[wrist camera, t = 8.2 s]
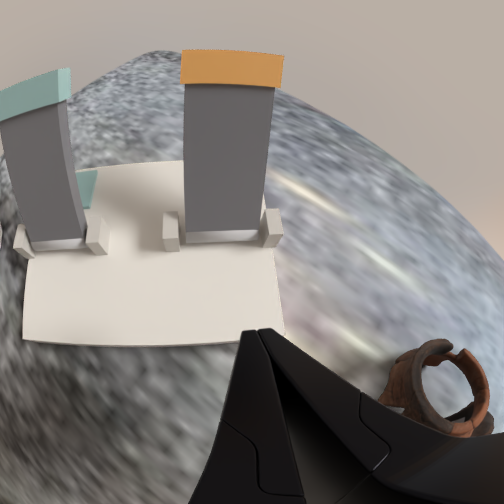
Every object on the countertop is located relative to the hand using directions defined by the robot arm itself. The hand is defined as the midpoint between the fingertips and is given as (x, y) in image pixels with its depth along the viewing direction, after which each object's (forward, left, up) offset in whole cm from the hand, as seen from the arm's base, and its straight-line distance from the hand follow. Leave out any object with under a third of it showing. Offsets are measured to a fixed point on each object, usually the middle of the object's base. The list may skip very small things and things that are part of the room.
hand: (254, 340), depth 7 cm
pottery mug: (+1, -15, -9) cm, 18 cm away
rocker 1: (-1, +12, -6) cm, 13 cm away
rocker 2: (+5, +4, -6) cm, 9 cm away
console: (+2, +8, -9) cm, 12 cm away
